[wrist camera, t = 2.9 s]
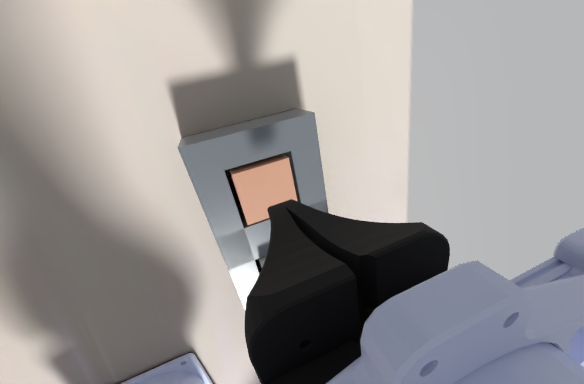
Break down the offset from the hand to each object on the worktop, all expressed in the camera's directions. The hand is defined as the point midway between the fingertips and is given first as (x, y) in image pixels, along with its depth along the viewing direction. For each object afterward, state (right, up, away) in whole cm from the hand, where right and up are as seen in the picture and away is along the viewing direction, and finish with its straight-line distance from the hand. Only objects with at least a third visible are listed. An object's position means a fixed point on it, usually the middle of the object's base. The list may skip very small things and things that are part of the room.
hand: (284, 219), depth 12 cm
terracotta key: (-2, +2, +6) cm, 7 cm away
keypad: (-1, -3, +9) cm, 10 cm away
